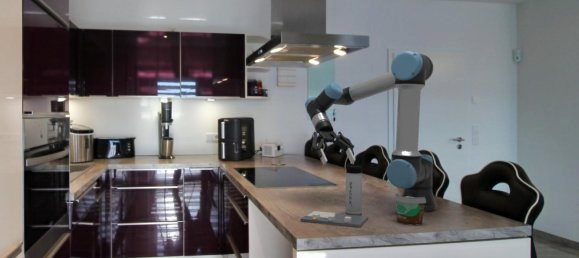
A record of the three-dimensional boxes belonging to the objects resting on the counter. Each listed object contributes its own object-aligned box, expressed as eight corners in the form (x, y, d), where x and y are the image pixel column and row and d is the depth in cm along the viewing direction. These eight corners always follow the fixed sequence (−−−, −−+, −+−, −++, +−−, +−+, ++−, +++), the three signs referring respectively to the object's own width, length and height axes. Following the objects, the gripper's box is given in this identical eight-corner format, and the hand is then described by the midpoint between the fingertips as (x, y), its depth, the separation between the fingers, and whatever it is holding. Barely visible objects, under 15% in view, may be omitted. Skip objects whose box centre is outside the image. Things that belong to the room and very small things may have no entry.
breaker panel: (368, 219, 164) (368, 212, 164) (359, 227, 151) (359, 220, 151) (313, 213, 172) (313, 207, 172) (300, 221, 159) (300, 214, 159)
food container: (387, 221, 160) (387, 194, 160) (396, 218, 165) (396, 192, 165) (417, 227, 152) (417, 199, 151) (425, 224, 156) (426, 197, 156)
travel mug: (355, 212, 175) (356, 163, 175) (364, 216, 169) (365, 164, 168) (342, 213, 173) (342, 163, 172) (350, 217, 167) (351, 165, 166)
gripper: (343, 131, 201) (361, 166, 188) (294, 131, 191) (310, 169, 177) (349, 119, 196) (368, 155, 183) (300, 119, 186) (316, 157, 172)
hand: (339, 162), depth 180 cm, fingers open, 13 cm apart
